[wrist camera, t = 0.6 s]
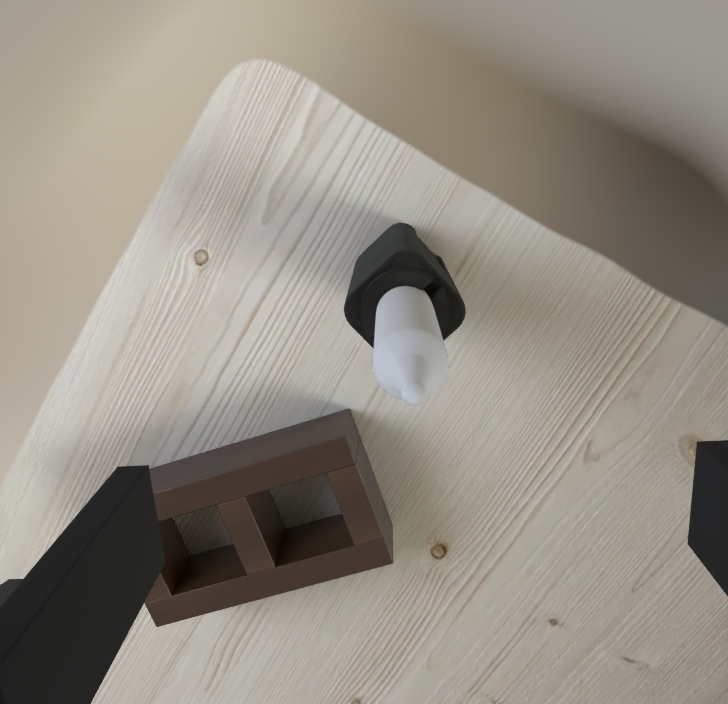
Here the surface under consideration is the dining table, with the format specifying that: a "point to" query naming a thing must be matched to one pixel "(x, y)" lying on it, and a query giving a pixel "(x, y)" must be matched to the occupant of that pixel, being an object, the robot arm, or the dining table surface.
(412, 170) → the dining table surface
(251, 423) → the dining table surface
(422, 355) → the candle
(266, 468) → the rack
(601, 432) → the dining table surface
